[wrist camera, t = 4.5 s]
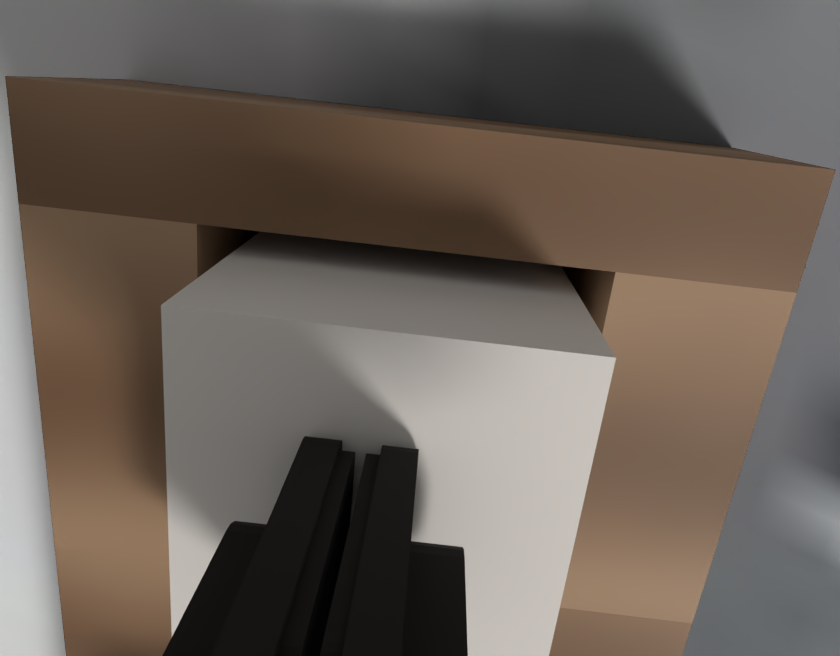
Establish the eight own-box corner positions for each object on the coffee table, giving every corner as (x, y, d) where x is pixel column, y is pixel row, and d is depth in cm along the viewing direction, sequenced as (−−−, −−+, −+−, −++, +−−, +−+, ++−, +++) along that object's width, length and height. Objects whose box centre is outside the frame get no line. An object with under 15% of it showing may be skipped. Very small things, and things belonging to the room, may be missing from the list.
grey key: (263, 228, 13) (160, 305, 9) (559, 262, 13) (616, 357, 9) (258, 481, 15) (172, 653, 11) (513, 511, 15) (539, 698, 11)
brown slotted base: (125, 79, 14) (5, 76, 10) (733, 147, 14) (835, 170, 10) (158, 791, 22) (96, 939, 18) (552, 840, 22) (573, 999, 18)
